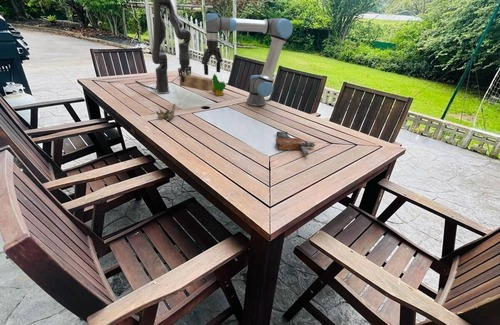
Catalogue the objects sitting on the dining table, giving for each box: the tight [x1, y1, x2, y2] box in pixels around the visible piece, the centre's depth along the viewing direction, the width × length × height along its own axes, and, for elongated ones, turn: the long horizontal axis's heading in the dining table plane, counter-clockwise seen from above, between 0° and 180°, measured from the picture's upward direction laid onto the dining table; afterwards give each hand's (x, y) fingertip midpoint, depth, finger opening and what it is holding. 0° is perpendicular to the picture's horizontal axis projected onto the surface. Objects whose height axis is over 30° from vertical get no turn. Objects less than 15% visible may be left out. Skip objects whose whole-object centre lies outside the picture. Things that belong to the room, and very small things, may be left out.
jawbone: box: [156, 103, 176, 122], centre depth 174 cm, size 9×15×10 cm
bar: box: [179, 73, 213, 92], centre depth 202 cm, size 26×6×8 cm, turn 66°
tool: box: [275, 131, 316, 157], centre depth 149 cm, size 4×27×30 cm
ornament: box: [211, 73, 227, 96], centre depth 234 cm, size 21×8×15 cm, turn 42°
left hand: (185, 80), depth 205 cm, fingers closed on bar, 5 cm apart
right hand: (212, 73), depth 183 cm, fingers open, 13 cm apart
